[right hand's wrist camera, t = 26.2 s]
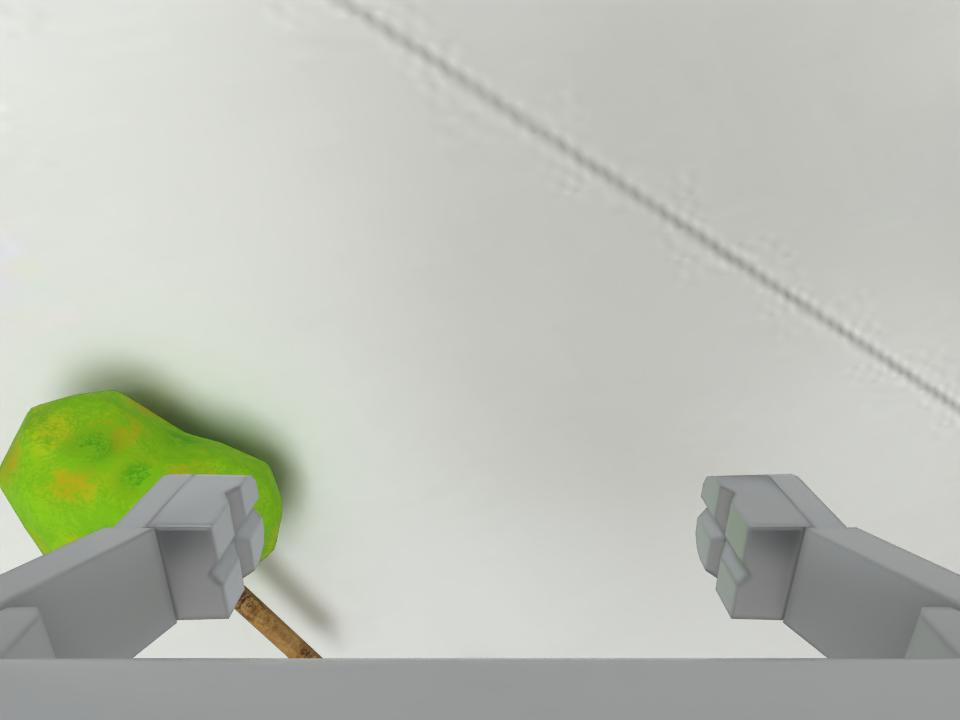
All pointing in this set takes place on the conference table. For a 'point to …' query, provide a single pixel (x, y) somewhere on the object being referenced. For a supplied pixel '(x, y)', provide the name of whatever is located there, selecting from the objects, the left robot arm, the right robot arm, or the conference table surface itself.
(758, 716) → the right robot arm
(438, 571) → the conference table surface
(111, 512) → the decorative tree
